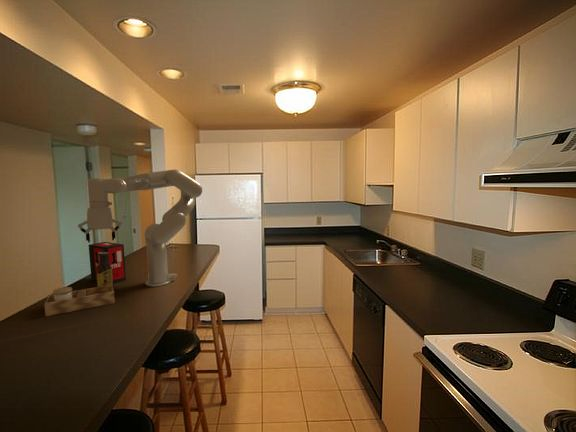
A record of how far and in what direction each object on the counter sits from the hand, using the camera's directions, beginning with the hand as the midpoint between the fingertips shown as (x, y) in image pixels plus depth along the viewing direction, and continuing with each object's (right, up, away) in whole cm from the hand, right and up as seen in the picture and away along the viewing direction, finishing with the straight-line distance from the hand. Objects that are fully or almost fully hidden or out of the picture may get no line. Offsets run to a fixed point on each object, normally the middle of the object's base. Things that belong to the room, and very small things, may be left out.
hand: (101, 241), depth 140 cm
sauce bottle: (0, -26, +3) cm, 26 cm away
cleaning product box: (-10, -24, +22) cm, 34 cm away
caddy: (0, -27, -12) cm, 30 cm away
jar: (-5, -27, -16) cm, 32 cm away
